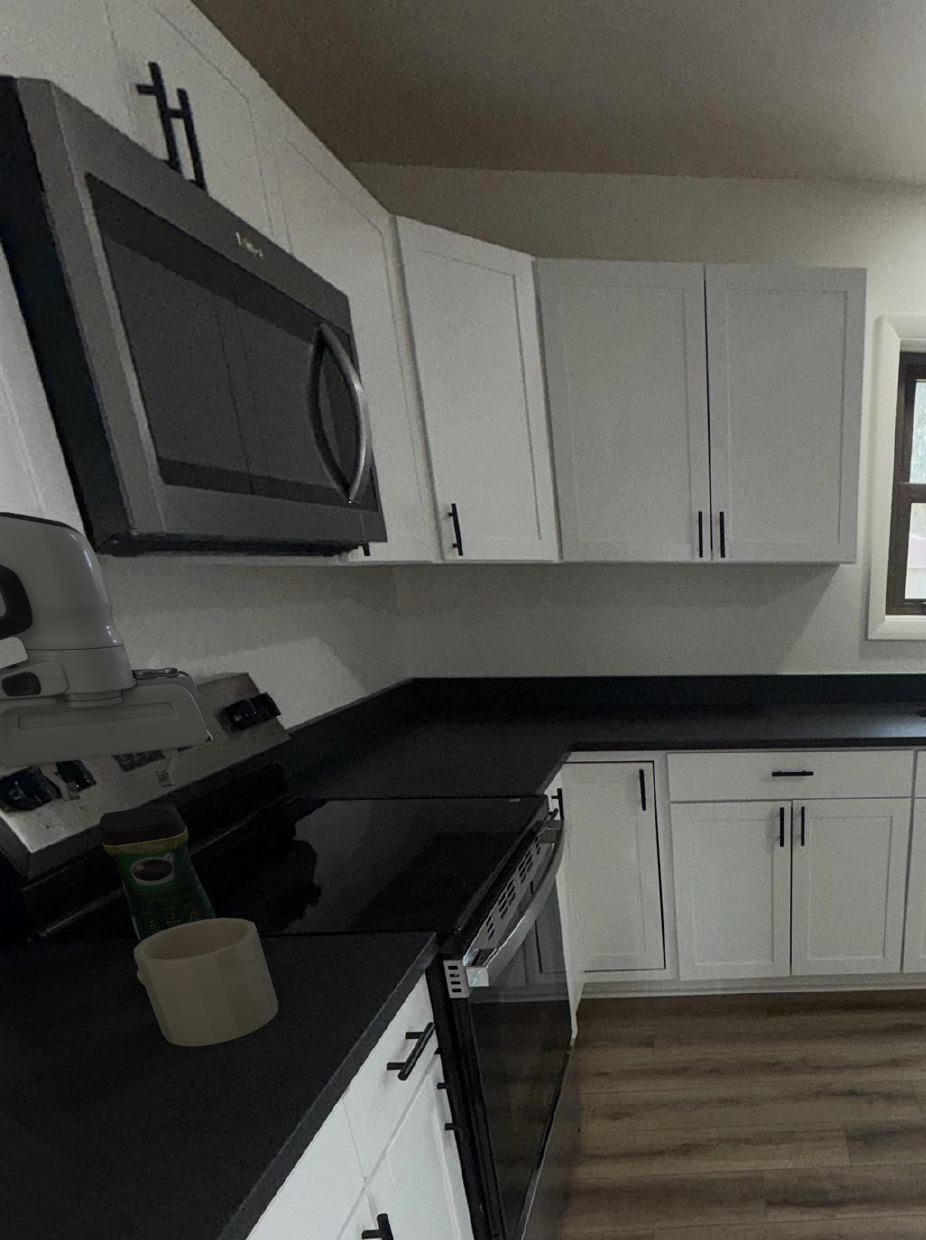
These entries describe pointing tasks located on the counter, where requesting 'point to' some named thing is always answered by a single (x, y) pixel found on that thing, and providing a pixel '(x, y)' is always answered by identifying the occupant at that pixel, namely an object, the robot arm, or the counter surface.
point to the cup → (207, 981)
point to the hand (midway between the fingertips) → (121, 792)
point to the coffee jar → (155, 868)
